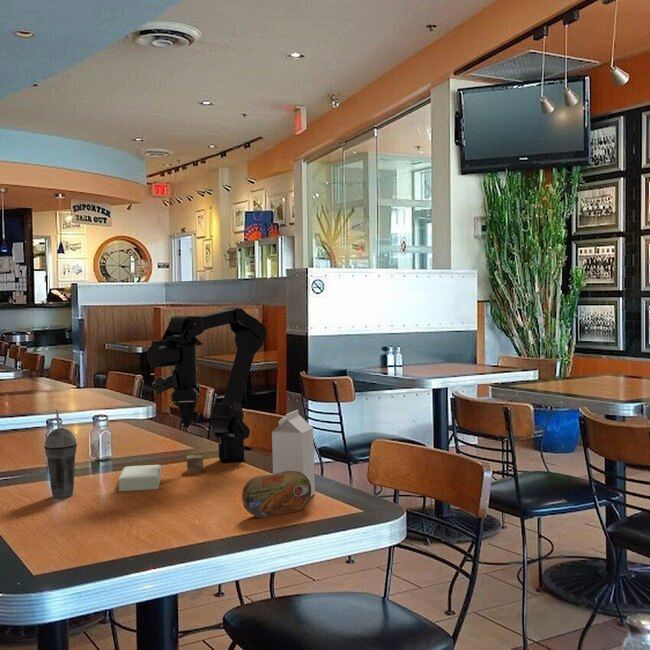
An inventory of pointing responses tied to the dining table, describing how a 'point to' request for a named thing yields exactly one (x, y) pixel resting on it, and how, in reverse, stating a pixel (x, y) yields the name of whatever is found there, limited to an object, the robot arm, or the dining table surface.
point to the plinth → (140, 478)
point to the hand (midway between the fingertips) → (187, 424)
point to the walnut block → (194, 464)
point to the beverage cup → (61, 460)
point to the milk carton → (294, 447)
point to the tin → (276, 494)
